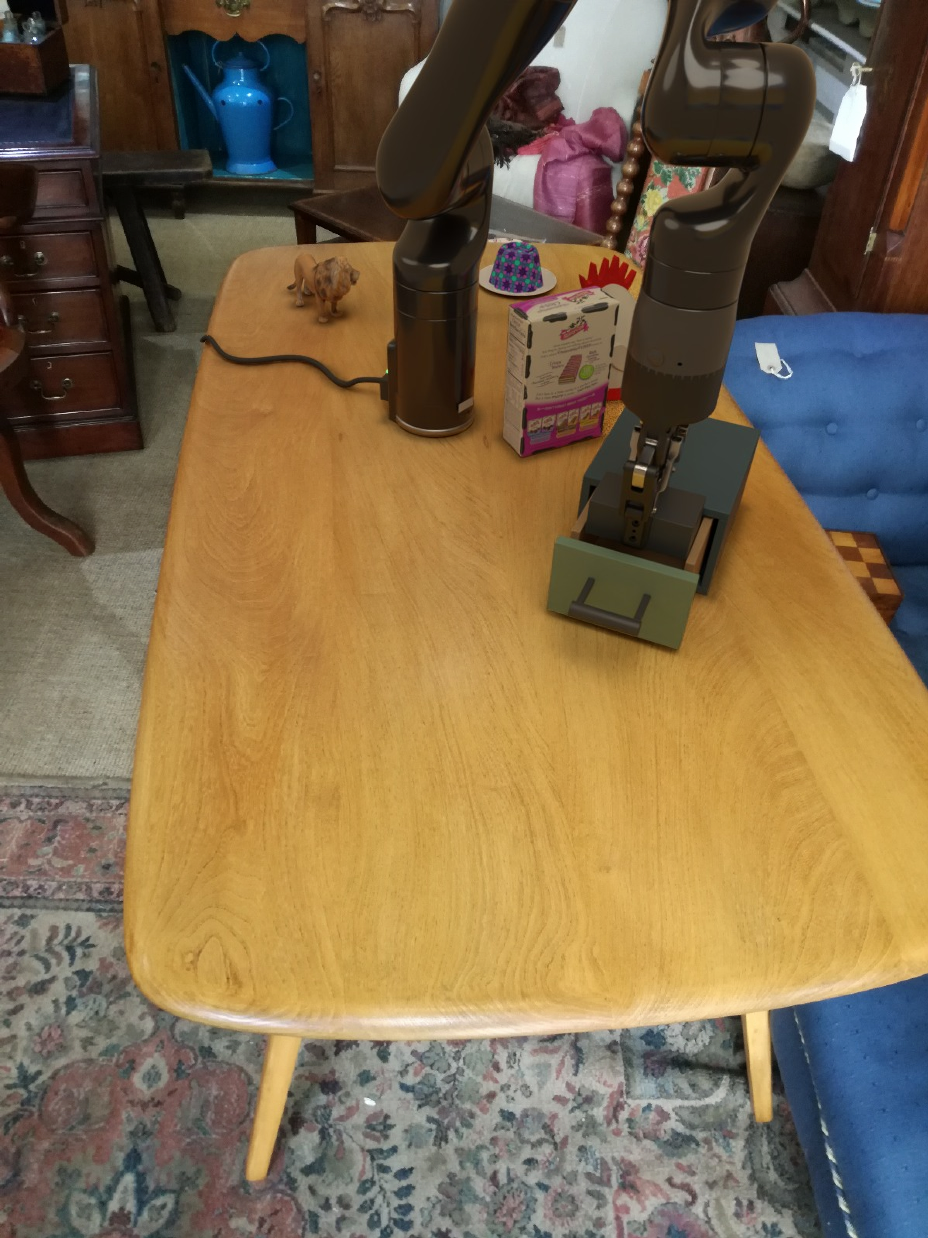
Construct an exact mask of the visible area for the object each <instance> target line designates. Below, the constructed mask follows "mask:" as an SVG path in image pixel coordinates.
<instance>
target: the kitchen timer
mask: <svg viewBox="0 0 928 1238" xmlns="http://www.w3.org/2000/svg"><path fill="white" fill-rule="evenodd" d="M629 266H630V264H629V263H628V262H625V261H622V262H621V264H620V257H619V256H617V254H613V255H612V257H611V261H610V259H609V258H607V257H605V256H604V257H603V258H602V261H601V264H600V267H599V270H598V266H597V264H596V263H594V262H593V261H590V262H589V266H588V272H587V279H586V278H585V276H583V275H582V274H580V273H579V274H578V281H579V285H580V287H581V288H580V289H583V288H588V287H592V286H597V287H599V288H601V289H602V291H605V292H606V293H608V294H609V295H610V296H612V297H613V298H615V299H616V300H618V301H619V302H620V304H619V311H618V319H617V326H616V333H615V342H614V349H613V356H612V363H611V369H610V377H609V385H608V394H607V401H618V400H622V399H621V396H620V390H621V384H622V378H623V372H624V366H625V359H626V353H627V347H628V341H629V334H630V328H631V322H632V316H633V311H634V308H635V304H636V301H637V299H636V298H635V297H634V296H633V294H632V293H631V292H630V291H629V290H630V289H631V286H632V285H633V282H634V280H635V278H636V276H637V270H635V269H633V268H631V269H630V270H629ZM628 270H629V272H628ZM627 273H628V274H627ZM607 401H606V402H607Z"/></svg>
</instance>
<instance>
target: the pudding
mask: <svg viewBox="0 0 928 1238" xmlns="http://www.w3.org/2000/svg"><path fill="white" fill-rule="evenodd" d="M557 282H558V281H557V277H556V275H555V274H554V273H553V272H552V271H550V270H549V269H547V268H545V267H543V266H541V258H540V254H539V250H538V249H537V247H536V246H535V245H533V244H530V243H528V242H525V241H521V242H519V241H510V242H506V243H503V244H501V246H499V248H498V250H497V253H496V256H495V258H494V262H493V263H492V264H489V265H486V266H484V267H482V268H480V270H479V286H482V287H483V288H485V289H486V290H489V291H491V292H493V293H497V294H501V295H506V296H514V297H515V296H517V297H525V296H526V297H527V296H535V295H540V294H543V293H546V292H548V291H550V290H552V289H554V287H556V285H557Z"/></svg>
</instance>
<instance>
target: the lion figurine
mask: <svg viewBox="0 0 928 1238" xmlns="http://www.w3.org/2000/svg"><path fill="white" fill-rule="evenodd" d="M293 274H294V282H293V283H292V284H290V285H288V286H286V289H287V290H289V291H292V290H294V289H295V297H296V298H295V306H296V307H298V308H299V307H303V306H305V302H304V300H303V298H302V287H303V292H304V294H305V295H307V296H310V295H313V294H314V296H315V301H316V306H317V313H318V322H319V323H321V324H326V323H328V321H329V320H328V316H327V313H326V310H325V309H326V305H325V303H326V302H330V314H331V315H332V316H333V317H335V318H339V317H340V316H342V311H340V310H338V308H337V307H338V302H340V301H341V300H342V299H343V297H344V296H347V294H348V293H349V292H350V291H351V289H352V288H351V287H353V286H354V287H355V286H357V283H358V282H357V281H359V279H360V275H361V272H360V271H359V270H358V269H356V268H353V266H352V265H351V264H349V262H348V258H347V257H346V256H344V255H343V256H342V255H340V256H337V255H336V256H335V255H334V256H333V257H330V258H329V259H325V260H324V261H319V262H318V263H317V262H316V259H315V257H314V256H313V255H311V254H309V253H304V252H302V253H301V254H299V255H298V256H297V257H296V258H295V260H294V265H293Z"/></svg>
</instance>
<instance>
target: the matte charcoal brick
mask: <svg viewBox="0 0 928 1238" xmlns="http://www.w3.org/2000/svg"><path fill="white" fill-rule="evenodd" d="M622 481H623V475H622V474H618V473H614V472H610V471H606V472H605V474H604V476H603V478H602V479H601V481H600V483H599V485H598V487H597V488H596V490H595V492H594V494H593V495H592V497H591V499H590V501H589V508H588V514H587V521H586V528H585V533H588V534H592V535H596V536H599V537H603V538H606V539H610V540H614V541H617V542H621V535H622V530H623V524H624V519H625V517H624V516H620V515H619V511H618V509H619V506H620V498H621V490H622ZM705 501H706V496H703V495H699V494H696V493H692V492H688V491H684V490H680V489H676V488H672V487H668V486H667V487H666V489H665V490H664V491H662V492H660V494H659V498H658V502H657V505H656V508H657V511H656V513H655V514H654V515H653V519H652V524H651V529H650V533H649V538H648V543H647V545H646V547H645V549H646V550H650V551H653V552H657V553H660V554H664V555H668V556H671V557H675V558H678V559H682V560H686V558H687V556H688V553H689V551H690V548H691V546H692V543H693V541H694V538H695V536H696V533H697V531H698V528H699V525H700V521H701V517H702V513H703V509H704V505H705Z"/></svg>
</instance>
